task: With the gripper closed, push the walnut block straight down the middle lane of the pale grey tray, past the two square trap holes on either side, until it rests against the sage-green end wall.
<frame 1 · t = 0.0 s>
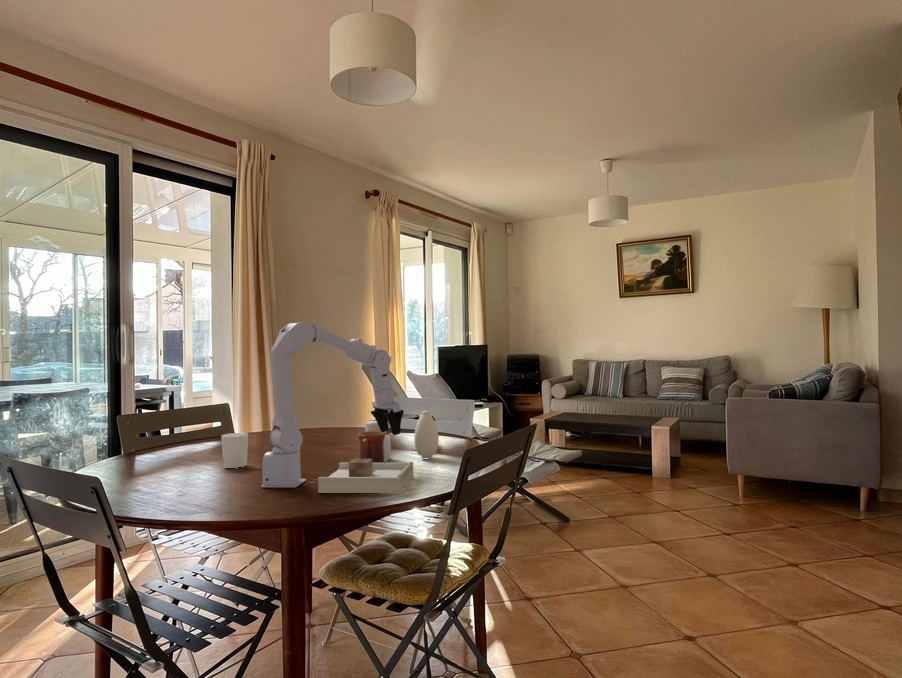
hand: (390, 432, 170), 11 cm above the table, tool pointing down, fingers open, 7 cm apart
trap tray: (368, 484, 149), on the table
mug: (370, 468, 170), on the table
block: (360, 475, 150), point 2 cm above the table, touching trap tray
container: (376, 461, 181), on the table
sauce bottle: (426, 459, 182), on the table
white cup: (235, 467, 177), on the table
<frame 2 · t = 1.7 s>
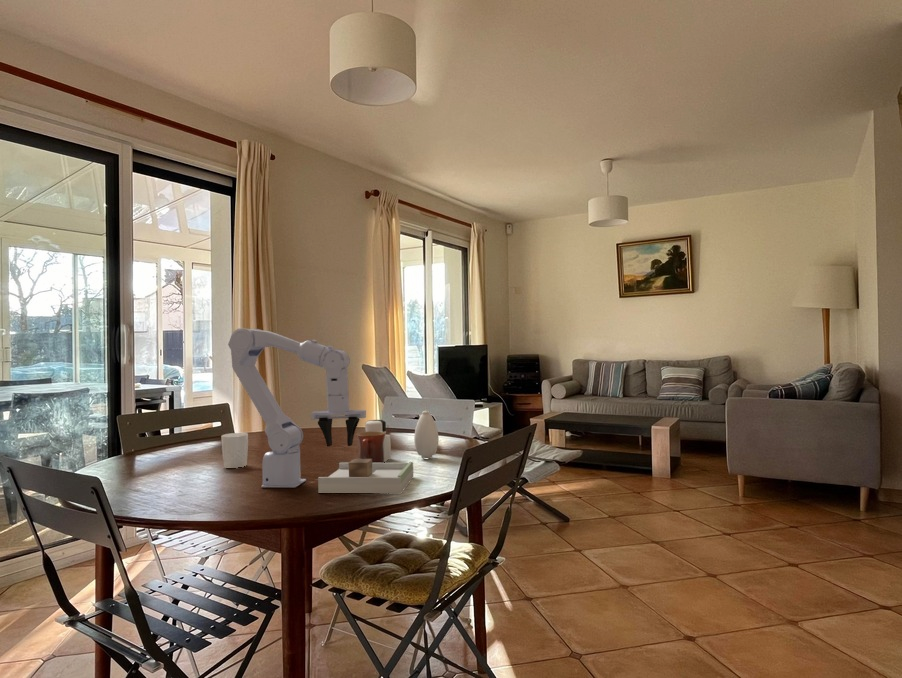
hand: (339, 445, 150), 10 cm above the table, tool pointing down, fingers open, 5 cm apart
nothing on the table moved.
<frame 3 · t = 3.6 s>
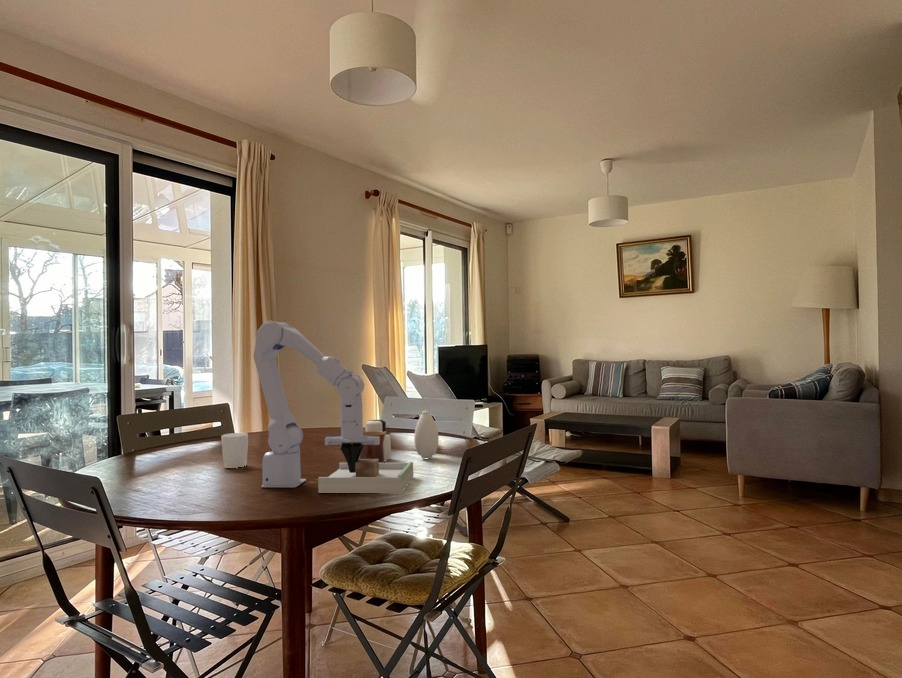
hand: (352, 471, 150), 3 cm above the table, tool pointing down, fingers closed
block: (367, 475, 149), point 2 cm above the table, touching gripper, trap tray
everything else where it was.
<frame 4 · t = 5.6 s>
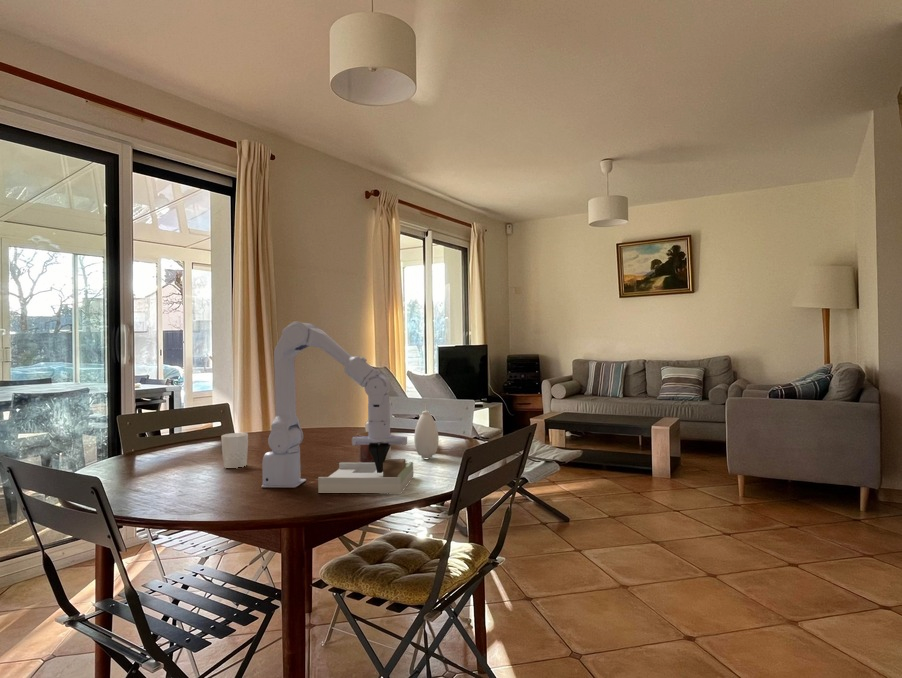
hand: (380, 472, 149), 3 cm above the table, tool pointing down, fingers closed
block: (394, 475, 149), point 2 cm above the table, touching gripper, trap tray
everything else where it was.
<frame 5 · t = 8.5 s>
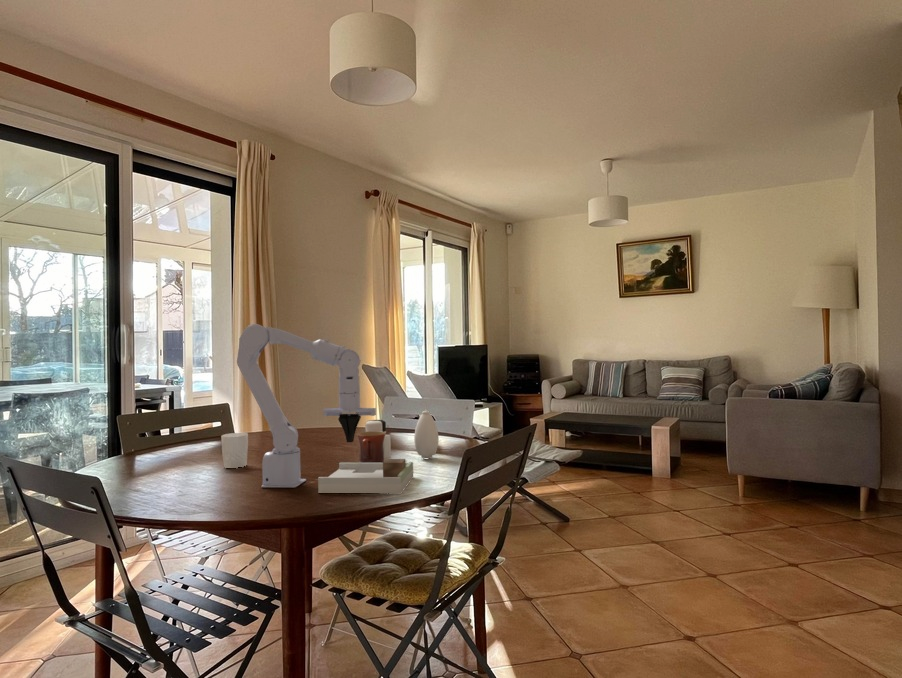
hand: (350, 441, 156), 10 cm above the table, tool pointing down, fingers closed
block: (394, 475, 149), point 2 cm above the table, touching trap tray
everything else where it was.
at the end: block 0.2 cm from the target spot, point 2.4 cm above the table; block tilted 0° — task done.
